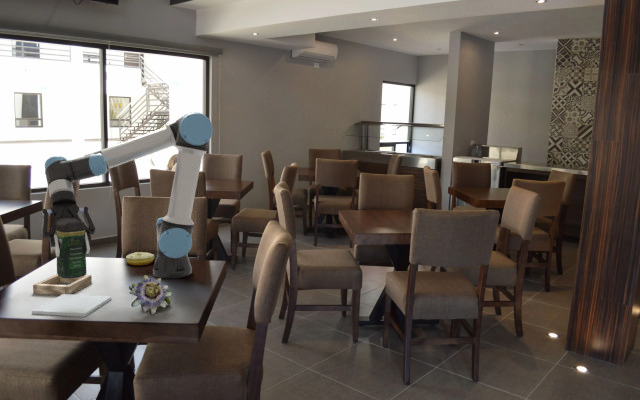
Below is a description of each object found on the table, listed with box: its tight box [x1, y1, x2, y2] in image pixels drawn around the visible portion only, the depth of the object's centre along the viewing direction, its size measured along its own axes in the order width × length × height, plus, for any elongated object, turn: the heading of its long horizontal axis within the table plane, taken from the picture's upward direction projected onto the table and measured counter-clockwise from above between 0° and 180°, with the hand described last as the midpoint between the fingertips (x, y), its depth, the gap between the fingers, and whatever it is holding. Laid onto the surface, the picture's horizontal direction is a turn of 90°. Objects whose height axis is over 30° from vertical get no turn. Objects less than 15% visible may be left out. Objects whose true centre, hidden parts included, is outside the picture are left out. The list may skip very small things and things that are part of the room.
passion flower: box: [128, 274, 173, 315], centre depth 167 cm, size 13×12×14 cm
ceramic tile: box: [31, 293, 112, 318], centre depth 168 cm, size 17×17×1 cm
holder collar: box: [32, 273, 92, 296], centre depth 187 cm, size 13×15×3 cm
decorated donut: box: [125, 251, 155, 266], centre depth 225 cm, size 11×12×4 cm
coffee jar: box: [55, 218, 87, 279], centre depth 166 cm, size 10×8×19 cm
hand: (73, 252), depth 163 cm, fingers closed on coffee jar, 8 cm apart
